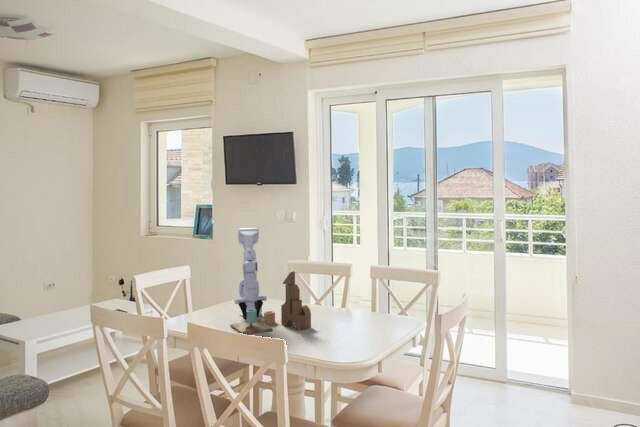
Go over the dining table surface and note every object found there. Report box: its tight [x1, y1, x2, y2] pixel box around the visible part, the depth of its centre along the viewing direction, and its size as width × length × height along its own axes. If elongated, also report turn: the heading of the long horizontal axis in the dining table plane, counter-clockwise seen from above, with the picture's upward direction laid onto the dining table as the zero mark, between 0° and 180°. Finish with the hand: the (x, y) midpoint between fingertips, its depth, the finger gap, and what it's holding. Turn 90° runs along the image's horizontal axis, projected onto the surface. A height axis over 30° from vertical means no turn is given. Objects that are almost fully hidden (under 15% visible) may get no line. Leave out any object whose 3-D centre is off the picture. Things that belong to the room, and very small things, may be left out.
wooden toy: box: [280, 271, 312, 331], centre depth 224 cm, size 15×7×25 cm, turn 42°
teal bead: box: [244, 309, 258, 323], centre depth 221 cm, size 5×5×5 cm
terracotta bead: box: [263, 310, 276, 325], centre depth 231 cm, size 5×5×5 cm
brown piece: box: [229, 320, 273, 335], centre depth 221 cm, size 14×16×7 cm
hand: (250, 318), depth 221 cm, fingers closed on teal bead, 5 cm apart
